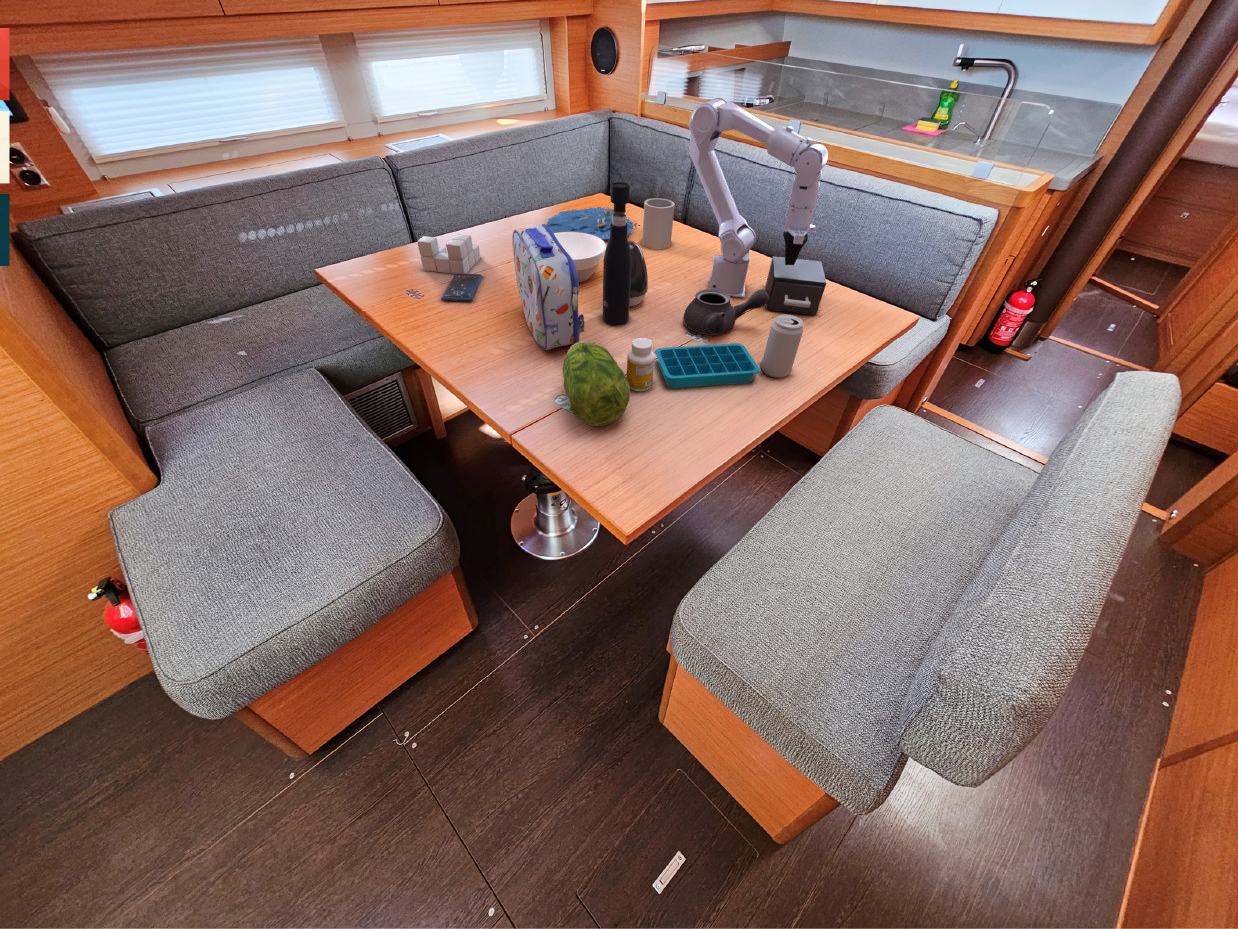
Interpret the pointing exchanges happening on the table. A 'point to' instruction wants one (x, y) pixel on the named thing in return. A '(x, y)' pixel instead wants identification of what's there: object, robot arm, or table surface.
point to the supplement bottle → (640, 365)
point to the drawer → (796, 297)
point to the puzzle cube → (449, 254)
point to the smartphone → (462, 287)
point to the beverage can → (782, 345)
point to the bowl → (583, 251)
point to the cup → (657, 223)
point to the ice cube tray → (706, 365)
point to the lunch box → (547, 287)
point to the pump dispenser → (637, 275)
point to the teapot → (718, 311)
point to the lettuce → (594, 384)
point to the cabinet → (794, 276)
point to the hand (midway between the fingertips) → (789, 264)
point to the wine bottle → (617, 261)
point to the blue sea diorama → (585, 222)
